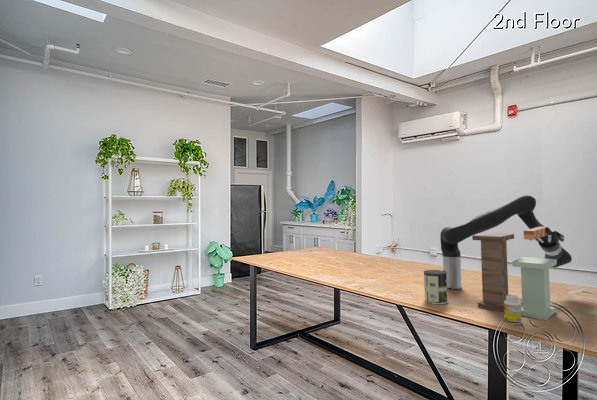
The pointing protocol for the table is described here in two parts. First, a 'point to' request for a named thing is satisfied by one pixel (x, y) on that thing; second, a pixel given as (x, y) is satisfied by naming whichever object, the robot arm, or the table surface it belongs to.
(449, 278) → the robot arm
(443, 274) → the coffee can
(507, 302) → the supplement bottle
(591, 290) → the table surface
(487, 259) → the tall stand
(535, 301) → the low stand
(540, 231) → the block
